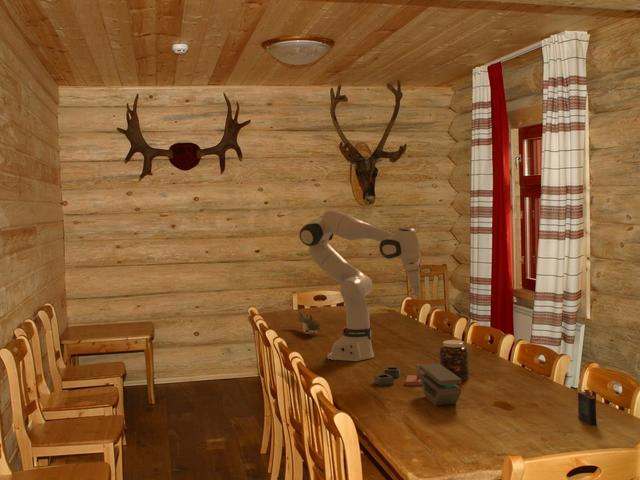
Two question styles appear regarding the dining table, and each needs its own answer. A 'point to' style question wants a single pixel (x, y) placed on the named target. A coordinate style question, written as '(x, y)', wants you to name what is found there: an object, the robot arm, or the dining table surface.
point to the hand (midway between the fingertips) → (417, 293)
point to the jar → (455, 358)
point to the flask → (587, 407)
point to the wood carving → (308, 323)
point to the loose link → (383, 379)
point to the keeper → (414, 378)
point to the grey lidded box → (440, 384)
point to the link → (392, 371)
